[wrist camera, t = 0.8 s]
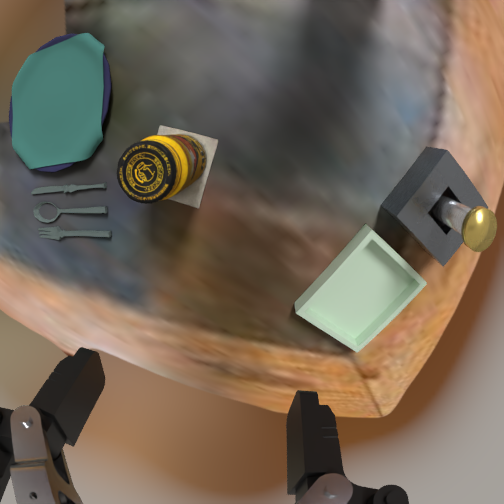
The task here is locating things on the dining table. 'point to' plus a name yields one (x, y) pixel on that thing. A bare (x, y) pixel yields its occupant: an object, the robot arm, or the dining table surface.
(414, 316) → the dining table surface
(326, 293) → the tray
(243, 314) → the dining table surface
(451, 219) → the pin
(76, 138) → the cutlery set
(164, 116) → the dining table surface
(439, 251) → the socket block
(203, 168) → the condiment
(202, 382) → the dining table surface
